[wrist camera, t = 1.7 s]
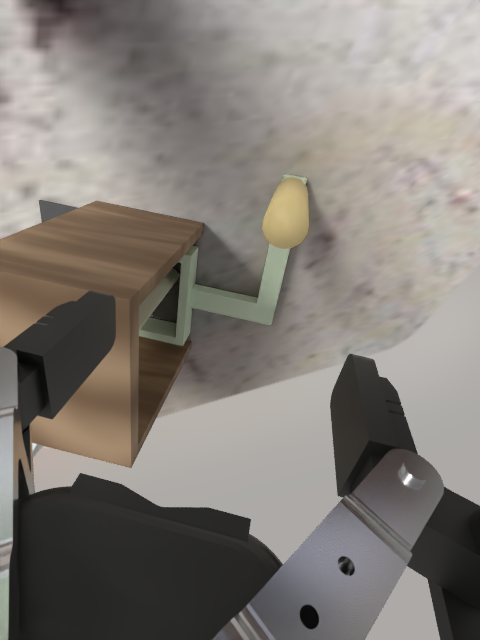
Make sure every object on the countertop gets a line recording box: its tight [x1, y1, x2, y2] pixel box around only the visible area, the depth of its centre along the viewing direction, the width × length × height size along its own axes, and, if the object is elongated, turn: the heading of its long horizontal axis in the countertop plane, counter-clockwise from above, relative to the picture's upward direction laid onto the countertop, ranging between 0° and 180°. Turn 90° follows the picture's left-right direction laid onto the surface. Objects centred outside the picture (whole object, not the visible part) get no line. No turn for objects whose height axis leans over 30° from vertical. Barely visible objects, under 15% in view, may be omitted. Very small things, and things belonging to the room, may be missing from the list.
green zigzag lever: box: [139, 174, 309, 346], centre depth 28 cm, size 17×18×10 cm
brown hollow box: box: [0, 201, 204, 468], centre depth 28 cm, size 14×10×15 cm
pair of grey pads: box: [39, 200, 77, 222], centre depth 35 cm, size 12×4×1 cm, turn 171°
